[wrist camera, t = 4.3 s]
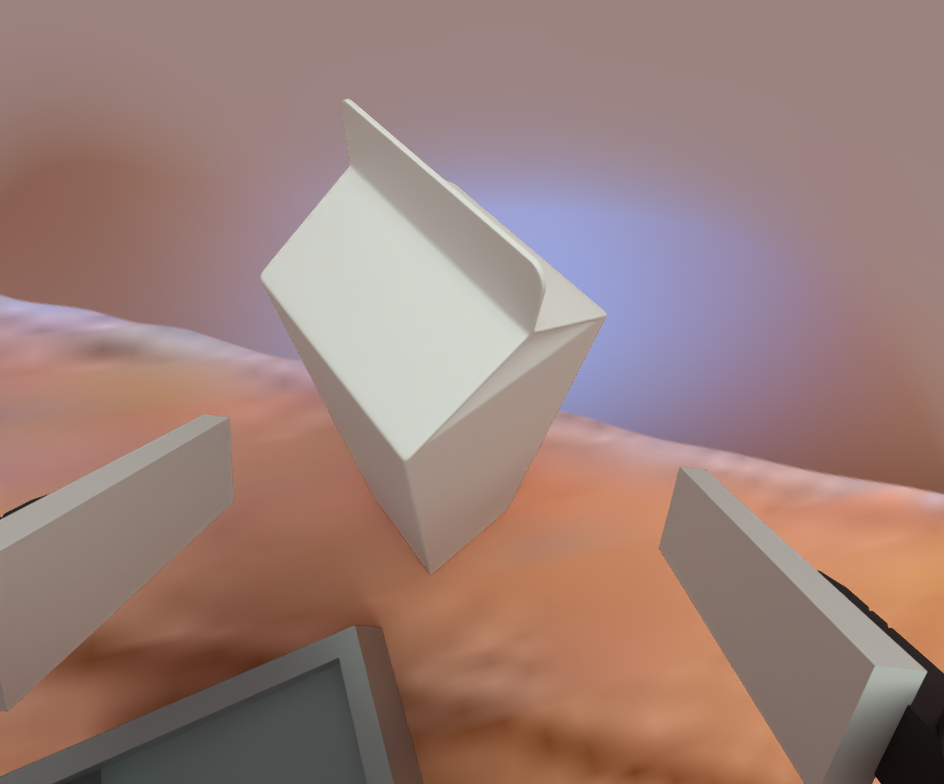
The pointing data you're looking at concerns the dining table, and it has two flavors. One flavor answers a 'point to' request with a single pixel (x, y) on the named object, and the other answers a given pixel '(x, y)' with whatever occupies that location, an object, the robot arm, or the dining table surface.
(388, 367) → the milk
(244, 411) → the dining table surface
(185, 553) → the dining table surface
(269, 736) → the tray
